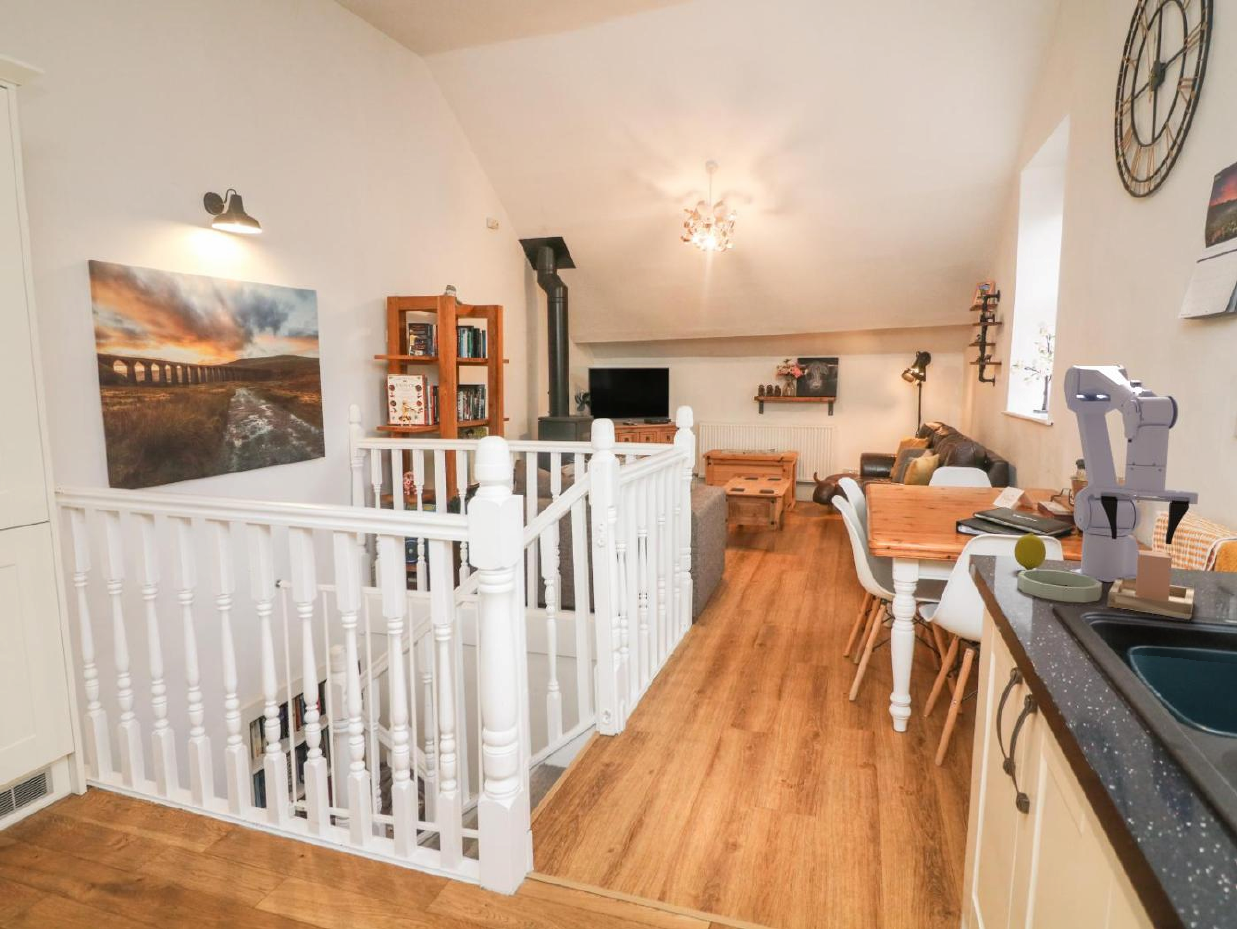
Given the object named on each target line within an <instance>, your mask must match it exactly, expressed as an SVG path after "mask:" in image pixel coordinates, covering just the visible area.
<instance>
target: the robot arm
mask: <svg viewBox="0 0 1237 929" xmlns="http://www.w3.org/2000/svg"><path fill="white" fill-rule="evenodd" d="M1128 376H1129V375H1128V371H1127V368H1126V367H1124V366H1123V365H1122V364H1117V365H1099V366H1098V365H1090V366H1089V365H1085V366H1084V365H1080V366H1079V365H1078V366H1077V365H1071V366H1070V367H1069V368H1068V369H1067V370H1066V372H1065V375H1064V382H1063V392H1064V396H1065V398H1064V399H1065V402H1066V407H1067V409H1068V410H1070V411H1072V412H1073V413H1075V416H1076V421H1077V425H1078V426H1077V427H1078V432H1079V439H1080V445H1081V446H1080V447H1081V450H1082V457H1083V464H1084V469H1085V475H1086V481H1087V485H1086V486H1085V487H1083V488H1082V489H1080V490H1079V491H1077V493H1076V494H1075V497H1074V499H1073V504H1074V508H1073V520H1074V524H1075V526H1077V527H1078V529H1079V530H1081V531H1082V543H1081V556H1080V557H1081V558H1080V559H1081V560H1080V568H1078V569H1070V570H1069V572H1071V573H1077V574H1081V575H1085V576H1088V577H1092V578H1095V579H1096V580H1098V581H1100V582H1106V583H1112V582H1113V583H1114V582H1115V581H1116V579H1117V577H1118V578H1125V579H1132V580H1136V575H1137V562H1138V550H1139V544H1138V540H1137V539H1136V537H1134V535H1132V532H1135V531H1136V530H1137V529H1138V527H1139V526H1140V524H1141V521H1142V520H1141V519H1142V514H1141V509H1140V506H1139V505H1138V502H1137V501H1145V502H1146V501H1149V502H1150V501H1151V502H1164V503H1169V504H1168V519H1167V521H1168V522H1167V529H1166V534H1165V544H1166V545H1172V543H1173V542H1172V541H1173V538H1174V535H1175V532H1176V530H1177V528H1178V527H1179V524H1180V522H1181V521H1182V519H1184V517H1185V515H1186V513H1187V512H1188V511H1189V510H1190V509H1189V508H1190V505H1198V500H1199V493H1198V492H1197V491H1184V490H1172V489H1166V480H1167V478H1166V477H1167V466H1168V465H1167V464H1168V451H1169V450H1168V449H1169V439H1170V437H1169V436H1170V430H1171V429H1173V428H1174V427H1175V425H1176V423H1177V420H1178V416H1179V407H1178V406H1179V405H1178V402H1177V401H1176V399H1175V398H1174V397H1173V395H1165V396H1158V395H1157V394H1156V393H1154V392H1153V391H1152V390H1150V389H1149V388H1147V387H1146V386H1145V385H1144V384H1143V382H1142V381H1141V380H1138V379H1136V380H1134V379H1132V380H1128ZM1115 410H1117V411H1118V412H1119V413H1121V414H1122V416H1121V417H1122V424H1123V427H1124V433H1123V434H1124V438H1125V439H1127V442H1126V457H1125V470H1124V471H1125V472H1124V475H1125V476H1124V486H1123V485H1122V484H1120V483H1119V482H1118V479H1117V474H1116V468H1115V463H1114V462H1115V461H1114V457H1113V451H1112V447H1111V446H1112V445H1111V441H1110V435H1109V431H1108V430H1109V429H1108V424H1107V419H1106V415H1107V413H1110V412H1112V411H1115Z"/></svg>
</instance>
